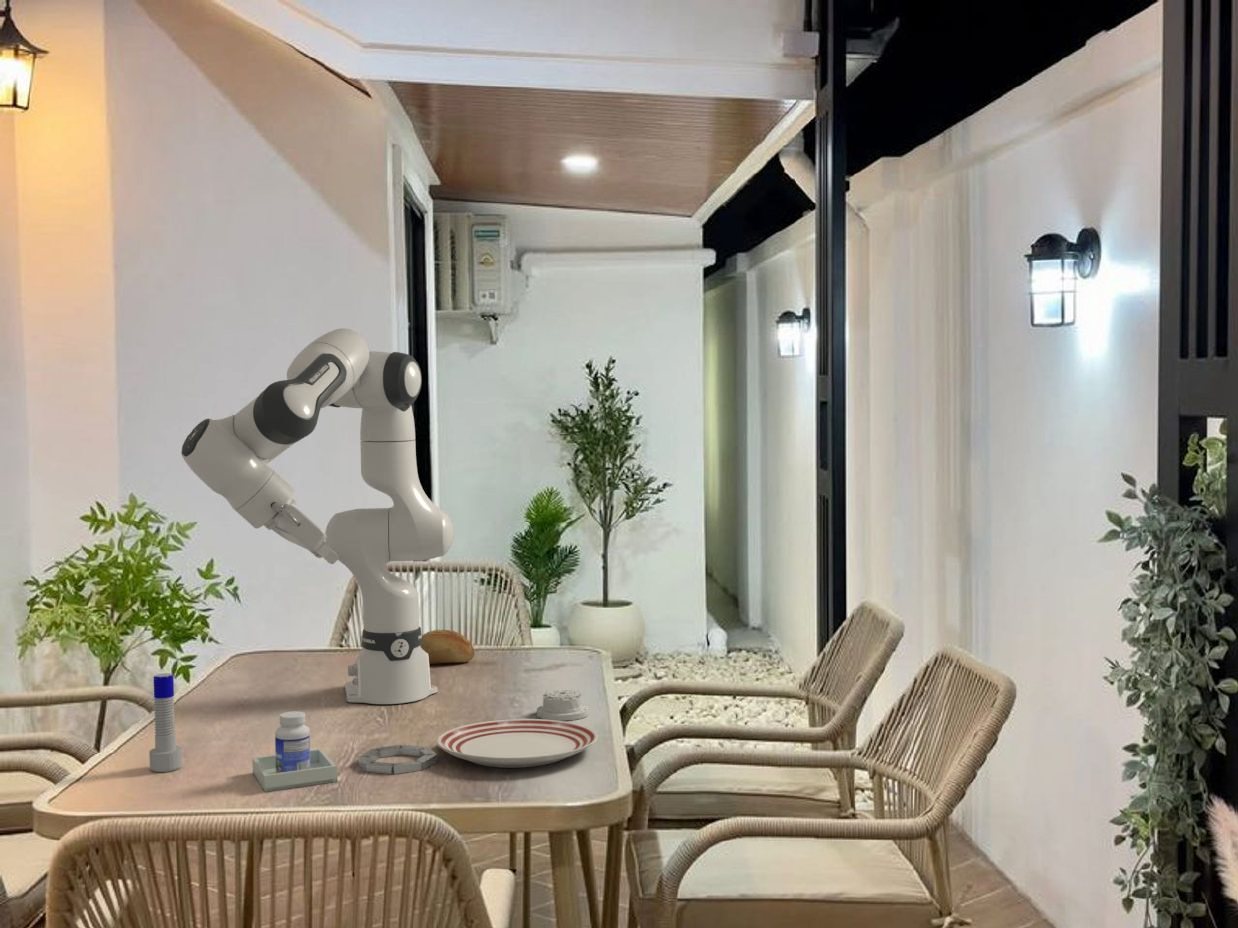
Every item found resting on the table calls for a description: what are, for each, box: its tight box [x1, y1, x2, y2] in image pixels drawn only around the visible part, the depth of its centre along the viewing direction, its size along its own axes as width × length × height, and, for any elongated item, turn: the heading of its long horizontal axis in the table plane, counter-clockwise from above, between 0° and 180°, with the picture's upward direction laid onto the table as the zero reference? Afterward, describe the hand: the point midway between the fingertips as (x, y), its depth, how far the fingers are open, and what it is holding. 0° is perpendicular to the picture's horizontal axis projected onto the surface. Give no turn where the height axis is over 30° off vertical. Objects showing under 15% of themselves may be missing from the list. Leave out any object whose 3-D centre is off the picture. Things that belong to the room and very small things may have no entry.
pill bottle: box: [274, 710, 311, 773], centre depth 195 cm, size 5×5×10 cm
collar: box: [357, 744, 438, 775], centre depth 202 cm, size 12×12×1 cm
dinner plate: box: [436, 718, 599, 769], centre depth 207 cm, size 27×27×3 cm
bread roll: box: [420, 629, 475, 665], centre depth 282 cm, size 10×15×8 cm, turn 97°
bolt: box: [148, 672, 183, 773], centre depth 200 cm, size 16×5×5 cm
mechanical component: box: [536, 689, 590, 722], centre depth 233 cm, size 10×4×10 cm
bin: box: [251, 748, 338, 793], centre depth 195 cm, size 11×11×2 cm
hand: (328, 557), depth 202 cm, fingers open, 8 cm apart
